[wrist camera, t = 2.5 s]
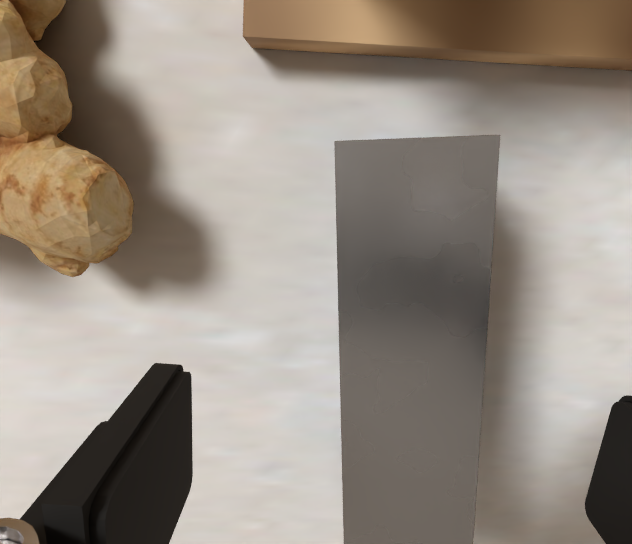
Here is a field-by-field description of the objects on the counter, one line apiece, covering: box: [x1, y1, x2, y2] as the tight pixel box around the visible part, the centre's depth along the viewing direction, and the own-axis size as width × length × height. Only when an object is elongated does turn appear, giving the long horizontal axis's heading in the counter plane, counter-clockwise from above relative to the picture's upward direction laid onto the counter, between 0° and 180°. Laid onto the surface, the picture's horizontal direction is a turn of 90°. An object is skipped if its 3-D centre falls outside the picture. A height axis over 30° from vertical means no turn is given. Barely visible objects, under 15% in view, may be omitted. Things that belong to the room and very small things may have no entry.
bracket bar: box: [335, 135, 500, 544], centre depth 15 cm, size 4×14×6 cm, turn 2°
